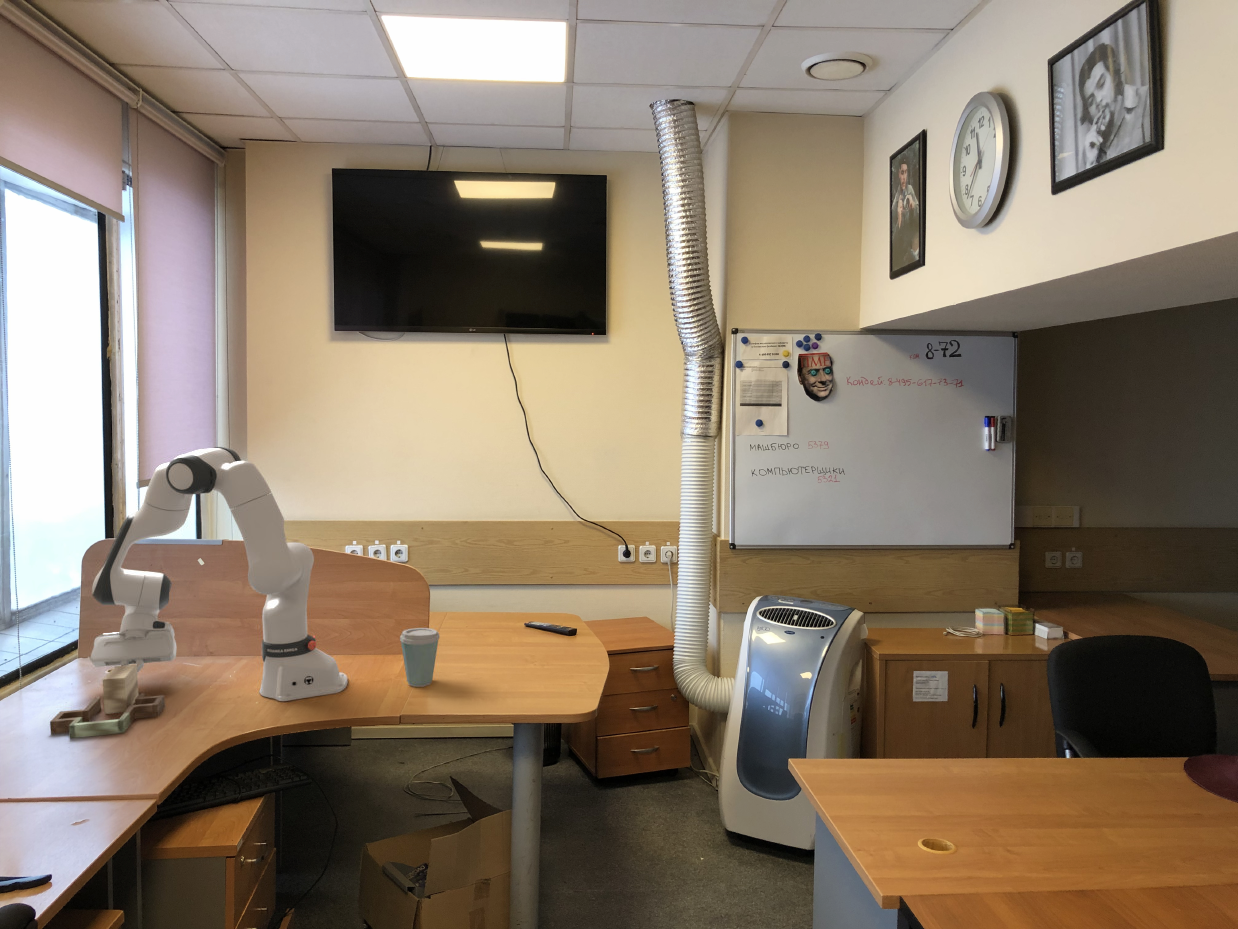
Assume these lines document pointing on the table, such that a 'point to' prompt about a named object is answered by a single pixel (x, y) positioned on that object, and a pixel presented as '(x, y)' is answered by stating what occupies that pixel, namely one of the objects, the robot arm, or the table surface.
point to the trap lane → (82, 727)
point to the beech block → (120, 688)
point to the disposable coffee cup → (419, 655)
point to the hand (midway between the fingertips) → (129, 677)
